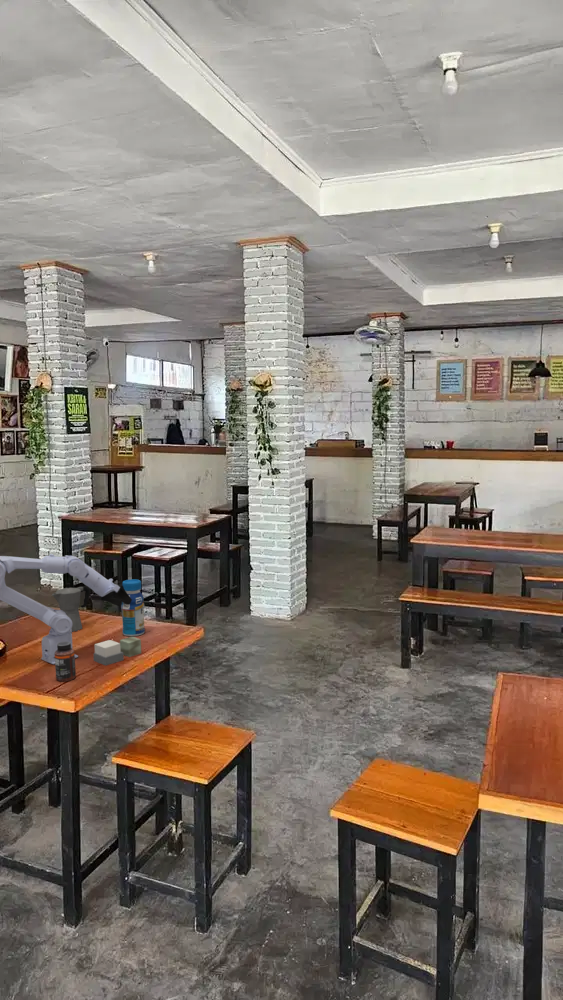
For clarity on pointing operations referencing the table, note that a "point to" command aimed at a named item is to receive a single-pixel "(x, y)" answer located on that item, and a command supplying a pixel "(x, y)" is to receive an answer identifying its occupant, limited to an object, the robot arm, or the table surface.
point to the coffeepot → (72, 603)
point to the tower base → (108, 658)
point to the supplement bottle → (65, 662)
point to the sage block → (130, 646)
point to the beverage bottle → (133, 609)
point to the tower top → (107, 648)
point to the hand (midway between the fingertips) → (125, 602)
